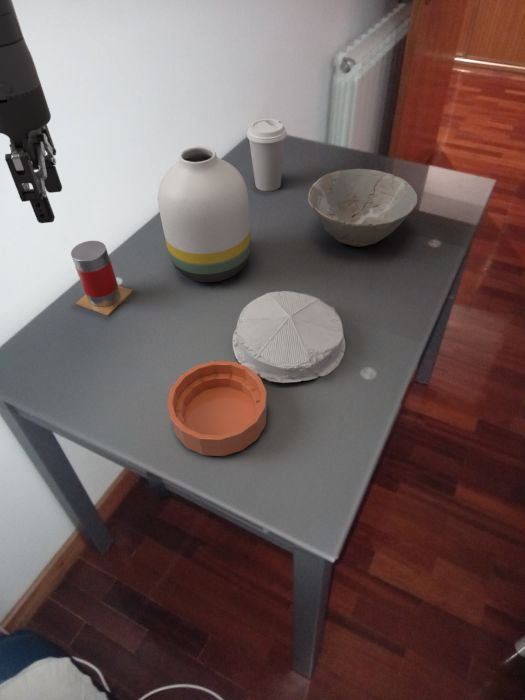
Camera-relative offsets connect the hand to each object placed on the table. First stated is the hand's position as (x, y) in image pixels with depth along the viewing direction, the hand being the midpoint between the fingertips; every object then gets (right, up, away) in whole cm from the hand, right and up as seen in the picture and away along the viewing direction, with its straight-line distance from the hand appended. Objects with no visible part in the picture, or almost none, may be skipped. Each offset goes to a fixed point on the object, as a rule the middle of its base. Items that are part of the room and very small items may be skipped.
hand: (51, 205), depth 71 cm
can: (-1, -10, +26) cm, 28 cm away
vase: (+20, -3, +33) cm, 39 cm away
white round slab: (+35, -20, +17) cm, 43 cm away
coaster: (-1, -10, +27) cm, 29 cm away
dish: (+24, -31, +6) cm, 40 cm away
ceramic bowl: (+51, +5, +39) cm, 65 cm away
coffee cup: (+32, +21, +55) cm, 67 cm away
